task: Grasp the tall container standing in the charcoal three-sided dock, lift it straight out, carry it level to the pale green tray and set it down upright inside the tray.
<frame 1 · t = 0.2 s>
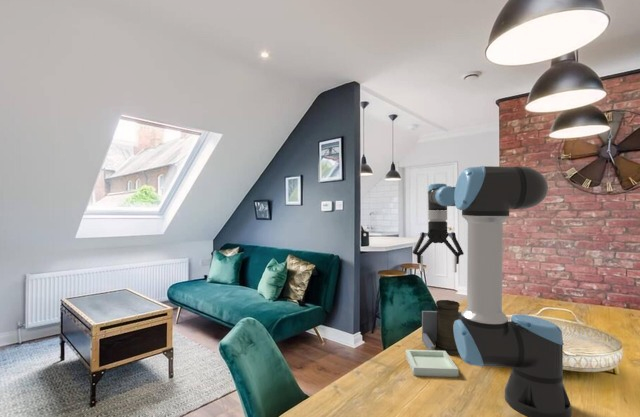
hand: (437, 271, 139), 27 cm above the table, fingers open, 13 cm apart
container: (448, 350, 126), on the table
dock: (448, 349, 126), on the table
tray: (430, 366, 113), on the table
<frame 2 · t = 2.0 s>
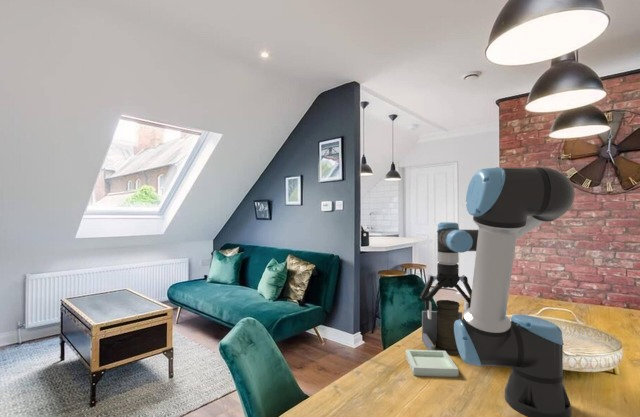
hand: (447, 318, 127), 12 cm above the table, fingers open, 13 cm apart
nothing on the table moved.
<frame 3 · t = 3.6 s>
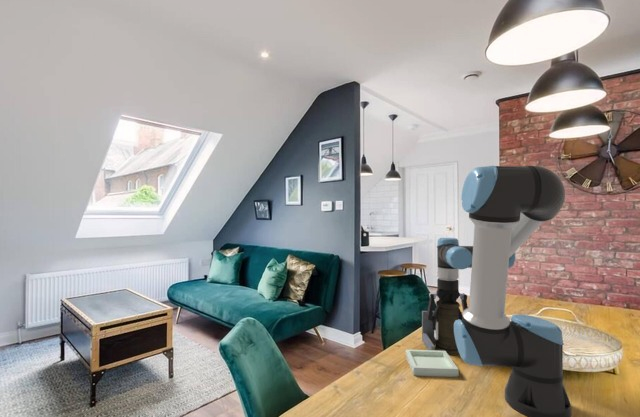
hand: (447, 338, 127), 4 cm above the table, fingers closed on container, 8 cm apart
container: (448, 350, 126), on the table, touching gripper
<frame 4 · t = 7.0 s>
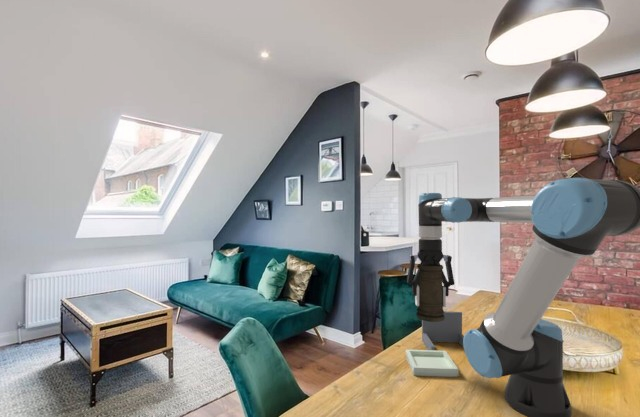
hand: (430, 305, 113), 21 cm above the table, fingers closed on container, 8 cm apart
container: (430, 318, 113), point 16 cm above the table, touching gripper
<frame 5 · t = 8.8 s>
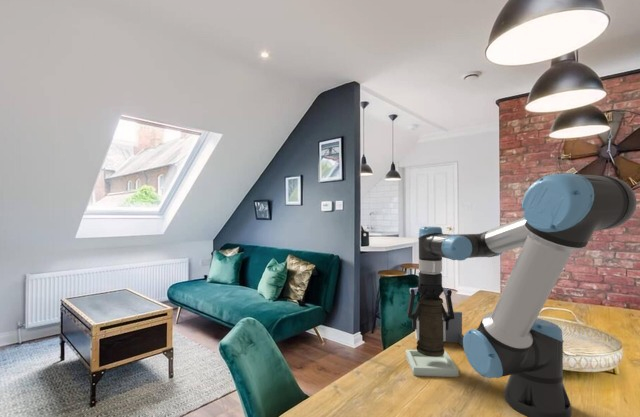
hand: (430, 338, 113), 9 cm above the table, fingers closed on container, 8 cm apart
container: (430, 351, 113), point 5 cm above the table, touching gripper
when the fingers open (7 cm above the table, at t = 10.2 s): container drops 1 cm, resting on tray.
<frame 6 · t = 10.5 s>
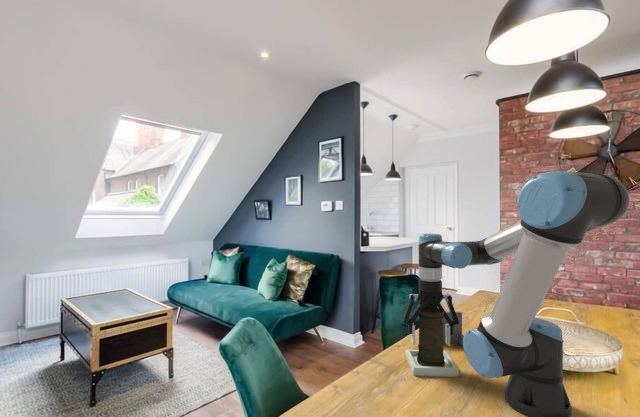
hand: (430, 343, 113), 7 cm above the table, fingers open, 11 cm apart
container: (430, 363, 113), point 1 cm above the table, touching tray
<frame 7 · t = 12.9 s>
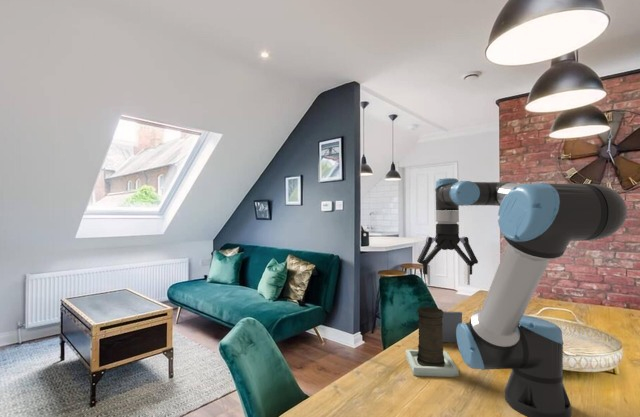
hand: (447, 284, 116), 27 cm above the table, fingers open, 13 cm apart
nothing on the table moved.
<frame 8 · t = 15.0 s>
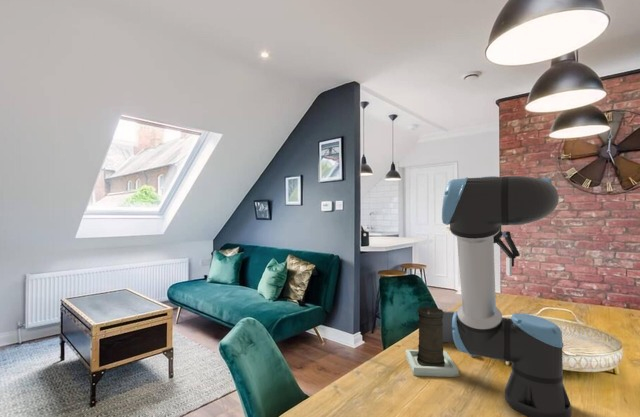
hand: (489, 275, 125), 29 cm above the table, fingers open, 13 cm apart
nothing on the table moved.
at the end: container inside the target area on the tray (0.1 cm from its centre), point 0.8 cm above the tray's base; container tilted 0°; the gripper is holding nothing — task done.
